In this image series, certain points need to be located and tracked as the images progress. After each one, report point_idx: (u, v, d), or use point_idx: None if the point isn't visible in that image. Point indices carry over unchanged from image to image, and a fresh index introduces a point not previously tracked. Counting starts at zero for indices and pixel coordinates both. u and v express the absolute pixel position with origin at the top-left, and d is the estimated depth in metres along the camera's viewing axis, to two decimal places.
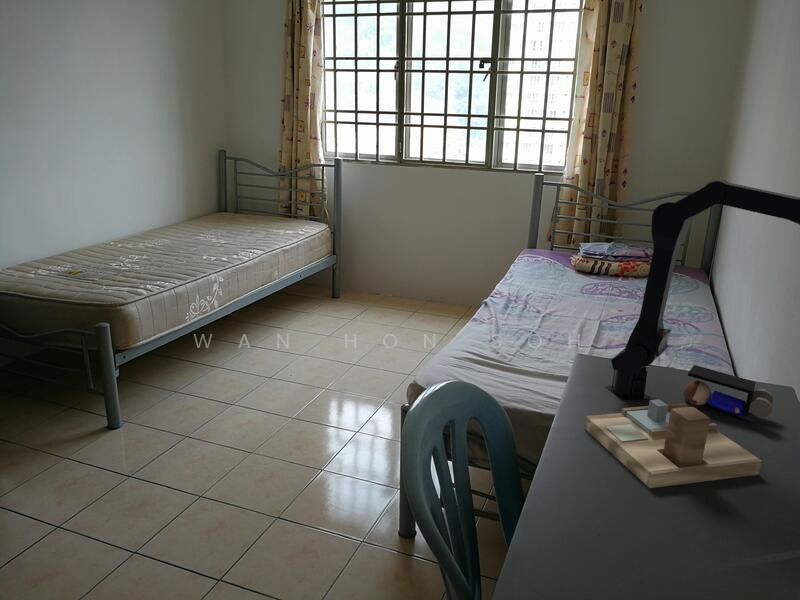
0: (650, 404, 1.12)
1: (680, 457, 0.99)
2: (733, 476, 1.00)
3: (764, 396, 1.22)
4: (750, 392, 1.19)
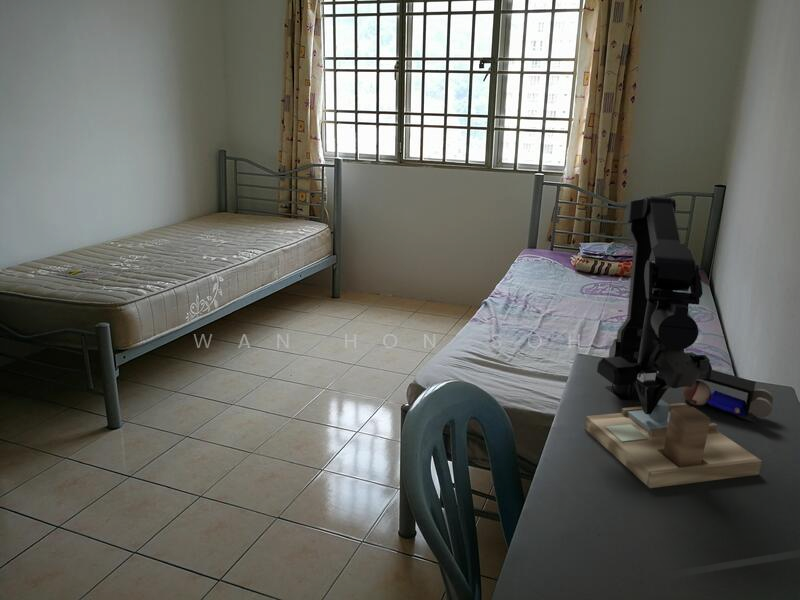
0: None
1: (680, 457, 0.99)
2: (733, 476, 1.00)
3: (764, 396, 1.22)
4: (750, 392, 1.19)
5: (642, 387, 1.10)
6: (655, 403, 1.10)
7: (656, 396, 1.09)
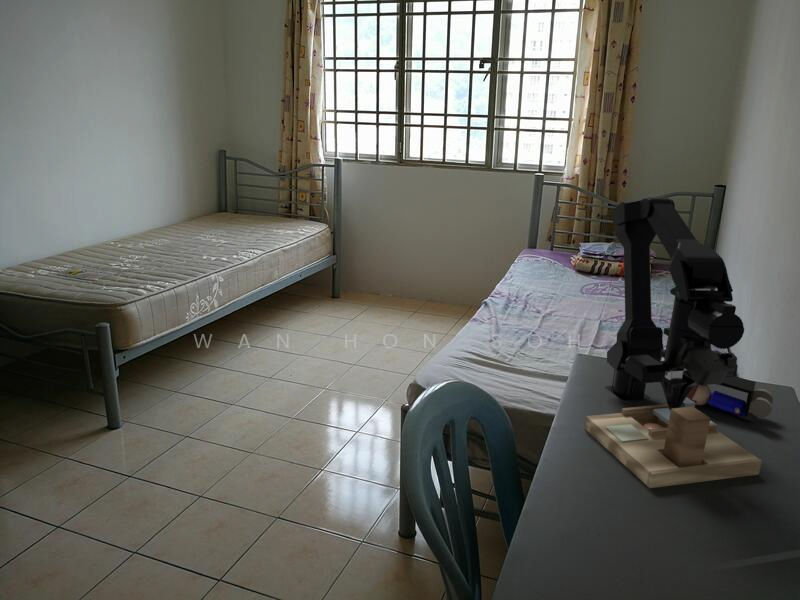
0: None
1: (680, 457, 0.99)
2: (733, 476, 1.00)
3: (764, 396, 1.22)
4: (750, 392, 1.19)
5: (668, 385, 1.11)
6: (681, 401, 1.11)
7: (682, 394, 1.10)
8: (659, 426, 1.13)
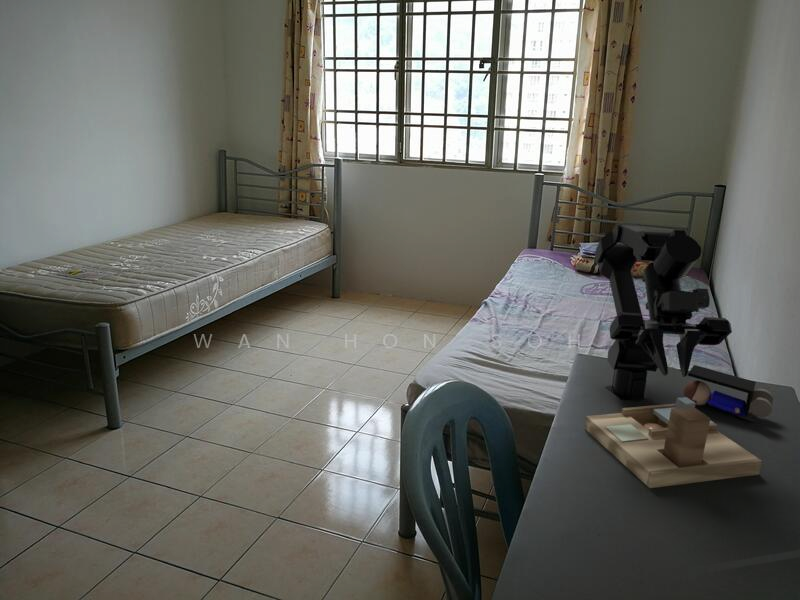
0: (677, 402, 1.13)
1: (680, 457, 0.99)
2: (733, 476, 1.00)
3: (764, 396, 1.22)
4: (750, 392, 1.19)
5: (653, 349, 1.09)
6: (687, 360, 1.06)
7: (685, 352, 1.07)
8: (659, 426, 1.13)
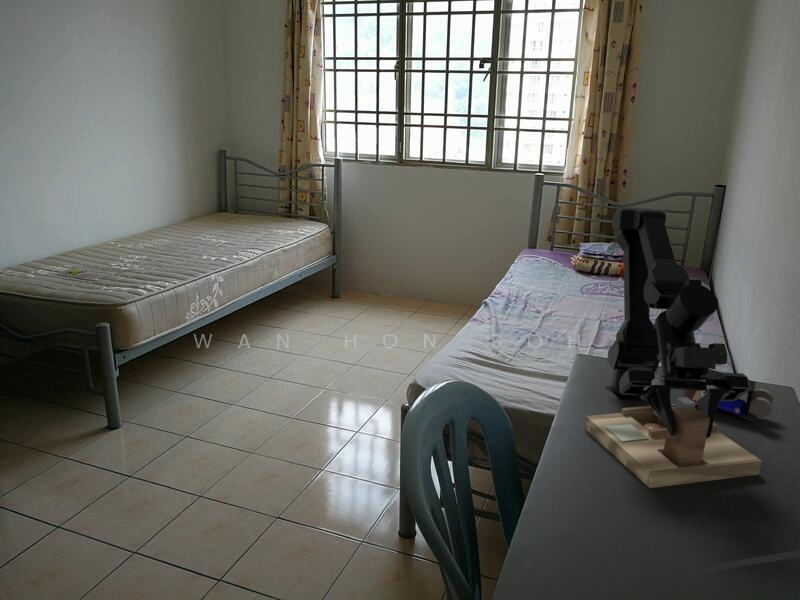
0: (677, 402, 1.13)
1: (680, 457, 0.99)
2: (733, 476, 1.00)
3: (764, 396, 1.22)
4: (750, 392, 1.19)
5: (660, 406, 1.02)
6: (710, 421, 0.99)
7: (708, 411, 0.99)
8: (659, 426, 1.13)
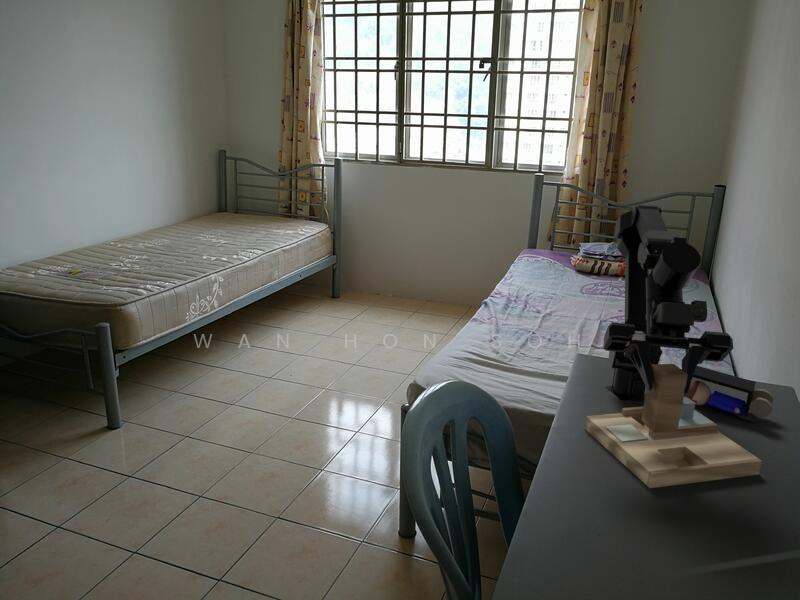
0: None
1: (656, 412, 1.00)
2: (733, 476, 1.00)
3: (764, 396, 1.22)
4: (750, 392, 1.19)
5: (640, 362, 1.03)
6: (689, 377, 1.00)
7: (687, 368, 1.00)
8: None
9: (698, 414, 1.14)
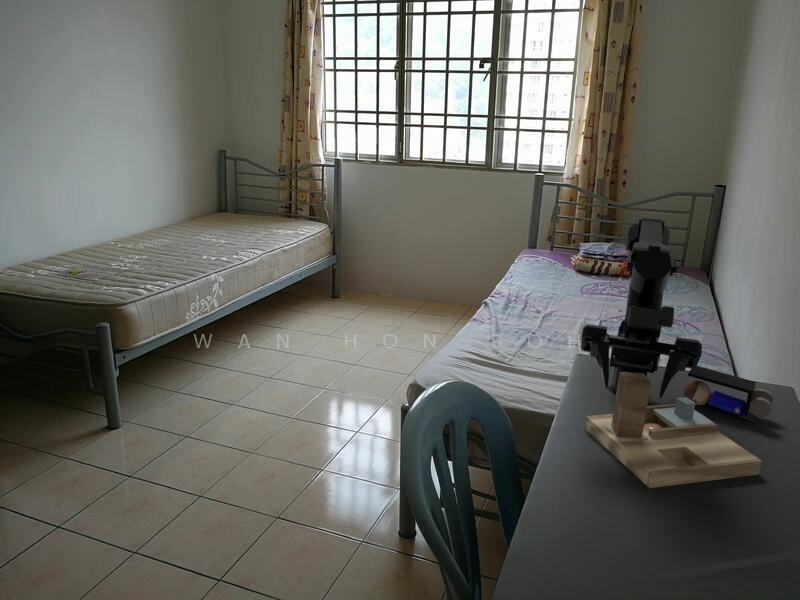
0: (677, 402, 1.13)
1: (619, 417, 1.05)
2: (733, 476, 1.00)
3: (764, 396, 1.22)
4: (750, 392, 1.19)
5: None
6: (665, 382, 1.03)
7: (665, 373, 1.04)
8: (659, 426, 1.13)
9: (698, 414, 1.14)
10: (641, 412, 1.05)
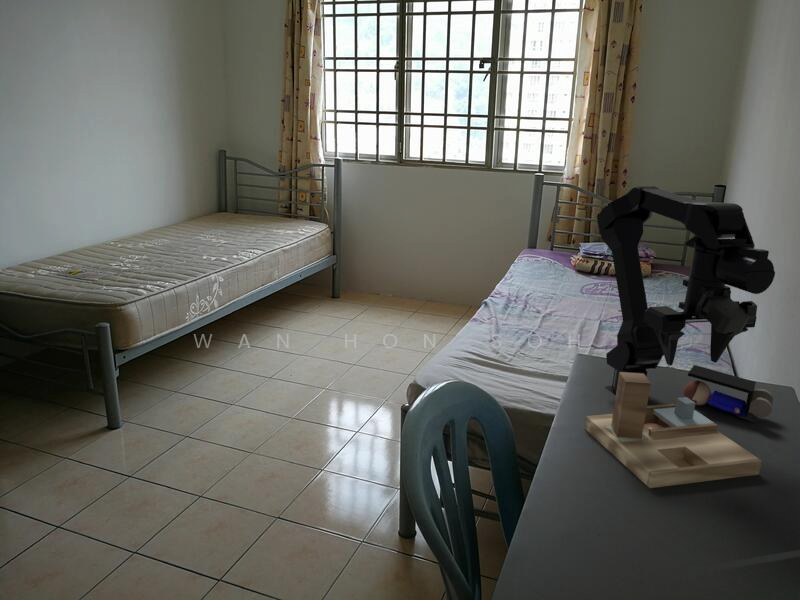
0: (677, 402, 1.13)
1: (619, 417, 1.05)
2: (733, 476, 1.00)
3: (764, 396, 1.22)
4: (750, 392, 1.19)
5: (665, 338, 1.11)
6: (721, 351, 1.13)
7: (723, 344, 1.12)
8: (659, 426, 1.13)
9: (698, 414, 1.14)
10: (641, 412, 1.05)
